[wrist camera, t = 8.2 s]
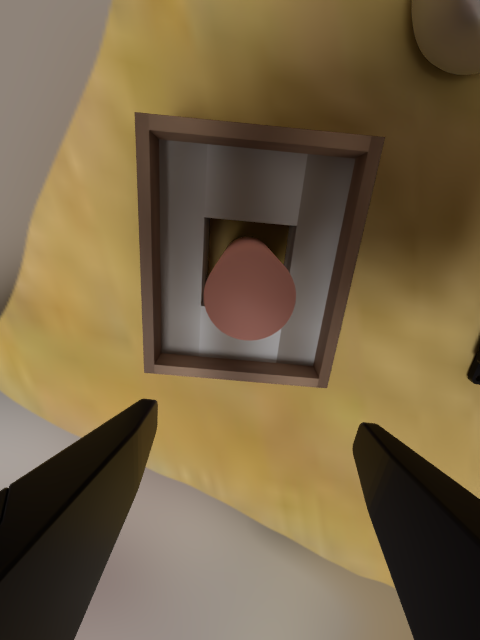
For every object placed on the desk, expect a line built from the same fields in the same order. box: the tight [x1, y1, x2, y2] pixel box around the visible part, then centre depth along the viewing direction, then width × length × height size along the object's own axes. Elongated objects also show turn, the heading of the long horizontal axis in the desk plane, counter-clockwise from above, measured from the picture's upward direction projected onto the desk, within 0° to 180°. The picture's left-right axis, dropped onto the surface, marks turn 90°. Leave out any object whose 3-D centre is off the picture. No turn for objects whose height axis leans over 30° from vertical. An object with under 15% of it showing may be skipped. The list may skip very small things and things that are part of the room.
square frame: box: [135, 112, 385, 388], centre depth 16 cm, size 11×13×4 cm
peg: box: [204, 236, 296, 341], centre depth 14 cm, size 3×3×9 cm
